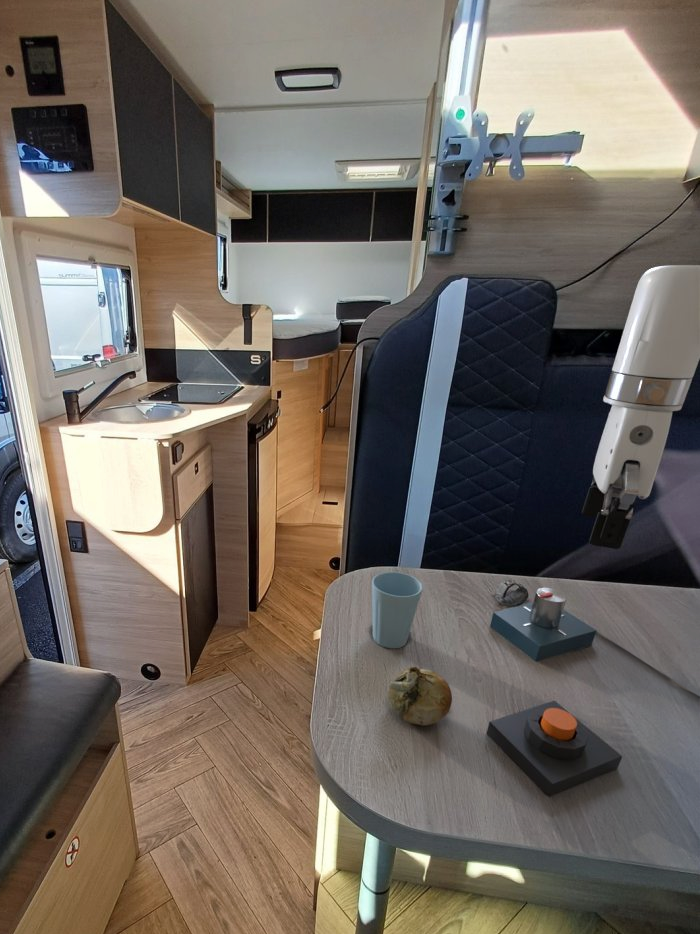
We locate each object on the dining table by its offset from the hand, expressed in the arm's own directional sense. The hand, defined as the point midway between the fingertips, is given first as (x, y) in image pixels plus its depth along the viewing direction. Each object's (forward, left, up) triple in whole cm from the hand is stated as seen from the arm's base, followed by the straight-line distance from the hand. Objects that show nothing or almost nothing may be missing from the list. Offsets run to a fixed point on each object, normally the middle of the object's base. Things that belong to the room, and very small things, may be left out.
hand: (599, 530), depth 65 cm
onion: (+23, -1, -25) cm, 33 cm away
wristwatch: (-10, -19, -25) cm, 33 cm away
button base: (+11, +10, -24) cm, 28 cm away
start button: (+11, +10, -21) cm, 25 cm away
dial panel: (-7, -9, -24) cm, 27 cm away
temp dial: (-7, -9, -21) cm, 24 cm away
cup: (+17, -17, -25) cm, 34 cm away
